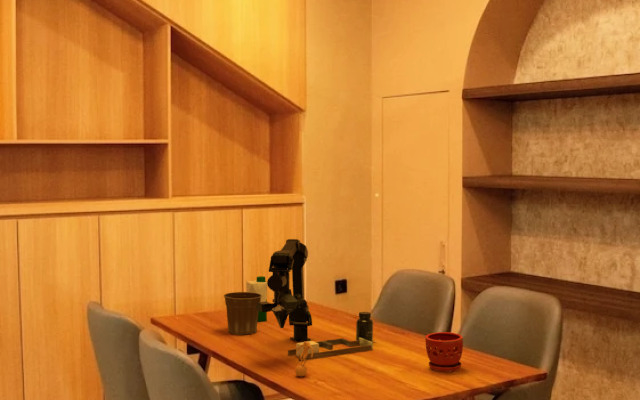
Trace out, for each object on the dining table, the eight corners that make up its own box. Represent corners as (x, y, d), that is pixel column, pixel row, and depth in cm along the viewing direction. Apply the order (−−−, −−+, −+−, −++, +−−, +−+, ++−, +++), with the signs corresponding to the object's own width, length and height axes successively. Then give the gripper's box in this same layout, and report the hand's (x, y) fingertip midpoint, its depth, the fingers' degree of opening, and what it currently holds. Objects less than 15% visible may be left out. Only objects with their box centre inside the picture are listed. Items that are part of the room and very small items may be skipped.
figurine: (288, 375, 268) (288, 340, 268) (301, 371, 272) (301, 338, 272) (304, 380, 262) (304, 345, 262) (317, 376, 266) (317, 342, 266)
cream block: (296, 356, 294) (296, 343, 293) (312, 353, 297) (312, 340, 297) (302, 359, 289) (302, 346, 289) (318, 356, 293) (318, 343, 293)
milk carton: (269, 321, 353) (269, 278, 352) (250, 323, 350) (250, 279, 348) (262, 317, 361) (262, 275, 360) (244, 319, 358) (243, 276, 356)
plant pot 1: (264, 328, 340) (264, 292, 339) (258, 337, 324) (258, 298, 323) (228, 327, 341) (228, 291, 340) (220, 336, 325) (219, 298, 324)
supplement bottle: (371, 344, 312) (371, 314, 311) (354, 343, 313) (355, 314, 312) (373, 340, 319) (374, 311, 318) (357, 339, 320) (357, 310, 319)
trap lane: (280, 351, 300) (280, 344, 299) (351, 341, 316) (352, 334, 316) (299, 361, 286) (299, 353, 286) (372, 349, 303) (372, 342, 303)
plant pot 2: (437, 361, 286) (437, 329, 285) (469, 368, 278) (469, 335, 277) (418, 369, 276) (418, 336, 275) (450, 376, 268) (451, 342, 267)
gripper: (268, 291, 275) (268, 335, 276) (314, 287, 284) (314, 329, 285) (255, 287, 284) (255, 329, 285) (299, 283, 294) (299, 323, 295)
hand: (281, 328), depth 287 cm, fingers closed
